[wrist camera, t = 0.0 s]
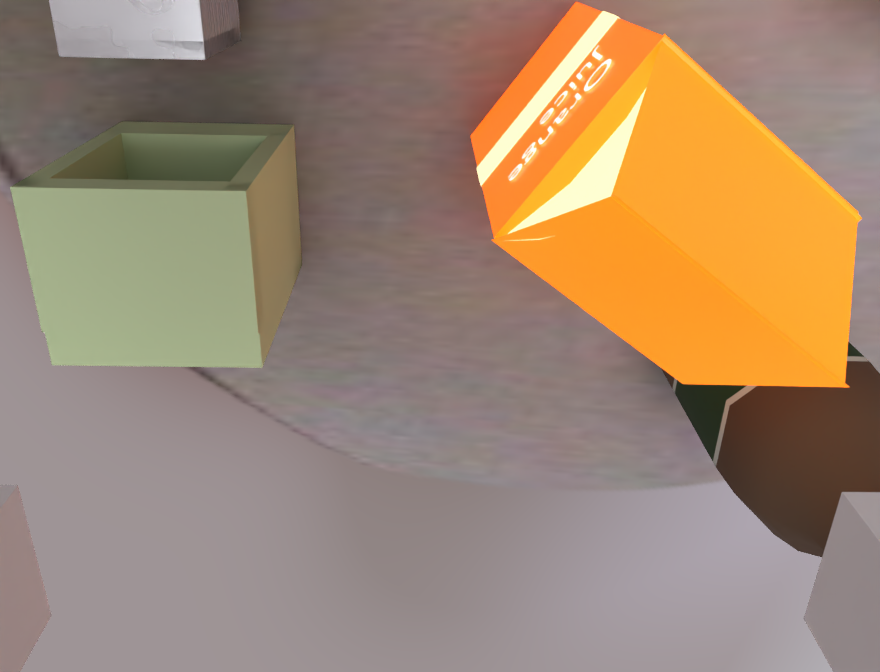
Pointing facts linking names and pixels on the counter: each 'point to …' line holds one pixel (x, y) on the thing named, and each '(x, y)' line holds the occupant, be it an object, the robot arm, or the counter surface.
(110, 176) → the socket
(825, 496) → the beer bottle
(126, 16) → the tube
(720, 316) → the orange juice
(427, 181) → the counter surface
